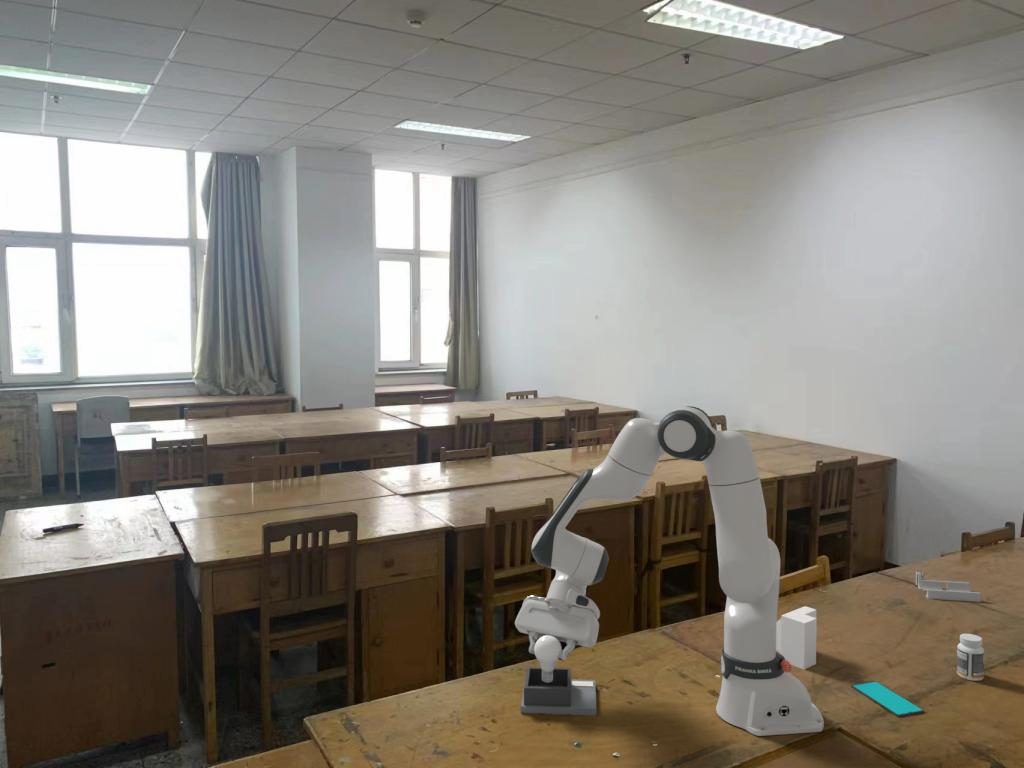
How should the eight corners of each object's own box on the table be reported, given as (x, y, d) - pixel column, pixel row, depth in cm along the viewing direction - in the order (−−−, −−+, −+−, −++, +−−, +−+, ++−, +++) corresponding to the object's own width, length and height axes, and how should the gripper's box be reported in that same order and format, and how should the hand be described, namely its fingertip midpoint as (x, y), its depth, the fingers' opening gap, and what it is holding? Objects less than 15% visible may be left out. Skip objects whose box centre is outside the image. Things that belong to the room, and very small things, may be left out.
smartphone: (875, 680, 180) (924, 710, 165) (875, 684, 180) (924, 714, 166) (849, 684, 178) (897, 715, 164) (849, 688, 178) (897, 719, 164)
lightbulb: (558, 690, 169) (559, 643, 168) (531, 686, 170) (532, 640, 169) (562, 677, 175) (563, 632, 174) (536, 674, 176) (537, 629, 176)
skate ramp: (927, 599, 235) (928, 584, 235) (915, 586, 248) (915, 571, 248) (980, 603, 232) (981, 587, 232) (965, 589, 245) (965, 573, 244)
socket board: (595, 685, 180) (594, 663, 179) (596, 715, 166) (596, 691, 165) (525, 683, 181) (524, 661, 181) (520, 712, 167) (520, 689, 167)
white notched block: (804, 669, 187) (804, 623, 186) (765, 654, 196) (765, 610, 196) (827, 658, 193) (828, 613, 193) (788, 644, 203) (789, 601, 202)
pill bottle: (981, 673, 184) (983, 634, 183) (985, 683, 179) (986, 643, 178) (955, 669, 186) (956, 630, 186) (958, 679, 181) (959, 639, 180)
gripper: (522, 588, 182) (502, 641, 175) (599, 602, 172) (582, 659, 165) (530, 600, 187) (512, 652, 179) (606, 614, 177) (590, 671, 169)
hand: (546, 656), depth 172 cm, fingers closed on lightbulb, 6 cm apart
